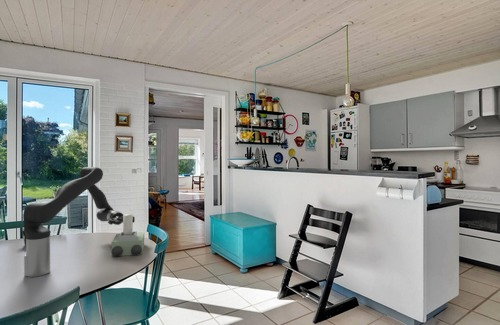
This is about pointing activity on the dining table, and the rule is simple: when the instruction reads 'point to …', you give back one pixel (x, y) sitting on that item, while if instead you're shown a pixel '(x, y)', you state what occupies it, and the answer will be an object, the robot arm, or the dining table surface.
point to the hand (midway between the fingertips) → (126, 221)
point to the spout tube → (127, 224)
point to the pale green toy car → (128, 244)
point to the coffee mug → (24, 237)
